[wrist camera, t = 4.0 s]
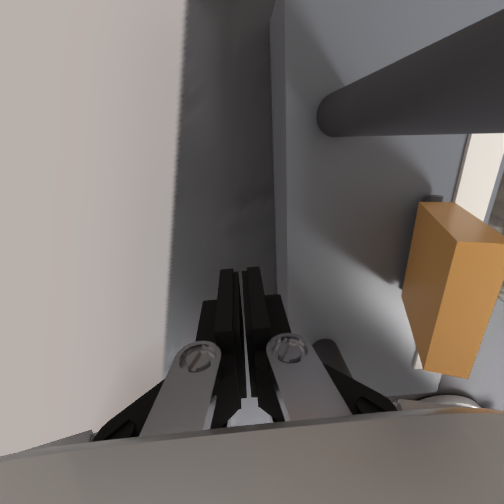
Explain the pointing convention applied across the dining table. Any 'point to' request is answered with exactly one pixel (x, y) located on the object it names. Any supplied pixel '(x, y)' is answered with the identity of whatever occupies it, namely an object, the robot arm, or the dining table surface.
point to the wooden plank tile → (451, 285)
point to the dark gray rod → (428, 90)
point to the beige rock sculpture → (498, 220)
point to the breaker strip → (362, 180)
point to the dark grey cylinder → (331, 355)
